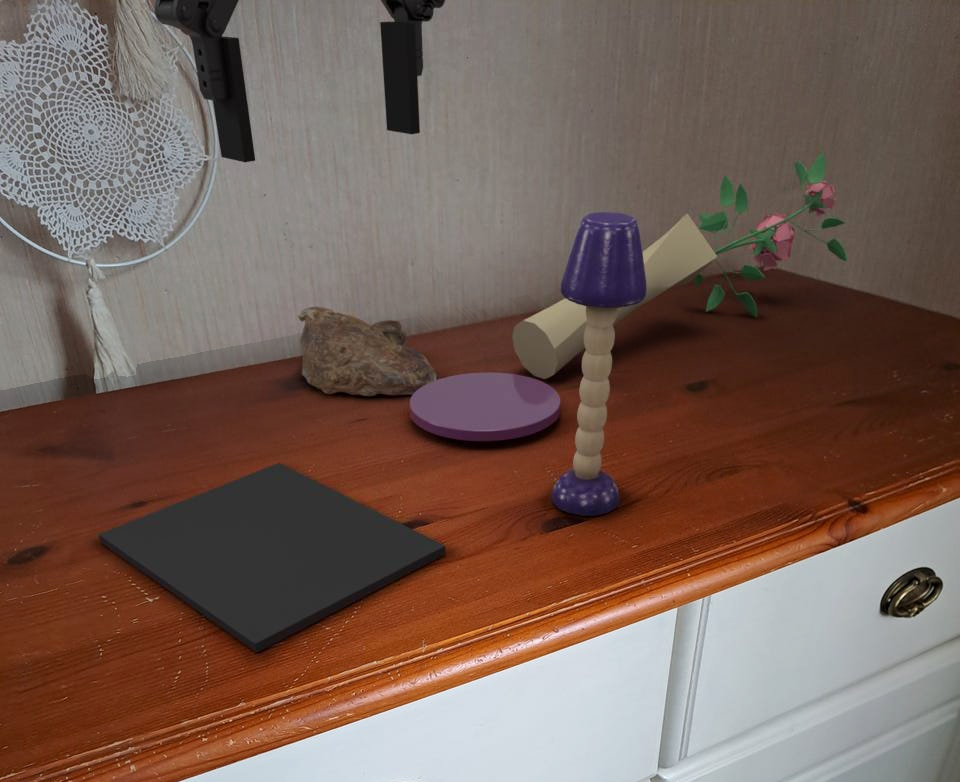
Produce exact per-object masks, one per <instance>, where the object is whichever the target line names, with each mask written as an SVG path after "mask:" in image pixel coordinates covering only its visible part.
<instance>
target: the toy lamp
mask: <svg viewBox="0 0 960 782" xmlns="http://www.w3.org/2000/svg"><path fill="white" fill-rule="evenodd" d="M641 239H642V238H641V232H640V226H639V223H638V221H637V219H636V218H634V217H633V216H632V215H629V214H626V213H622V212H616V211H615V212H613V211H599V212H598V211H597V212H591V213H588V214H585V216H584V217H583V218H582V219H581V221H580V223H579V226H578V228H577V231H576V234H575V238H574V241H573V244H572V247H571V249H570V253H569V255H568V260H567V262H566V265H565V269H564V272H563V275H562V279H561V282H560V293H561V295H562V296H563V297H564V299H565V298H566V299H568V300H569V301H571V302H574V303H576V304H579V305H583V306H586V319H587V321H588V325H587V326H586V329H585V332H584V345H585V348H584V349H585V351H584V353H583V355H582V358H581V372H582V374H583V377H582V379H581V381H580V384H579V390H578V391H579V392H578V393H579V394H578V395H579V399H580V403H579V405H578V408H577V412H576V419H577V425H578V428H577V429H576V433H575V437H574V444H575V448H576V451H575V453H574V455H573V460H572V466H573V469H570V470H568V471H566V472H565V473H563V474H562V475H560V477H559V478H558V479H557V480H556V482H555V483H554V486H553V488H552V490H551V495H550V500H551V502H552V504H554V506H556V508H558V510H560V511H563V512H565V513H568V514H570V515H574V516H575V515H576V516H582V517H586V516H588V517H591V516H593V517H595V516H600V515H604V514H607V513H610V512H611V511H613V510H615V509H616V508H617V507H618V506H619V504H620V493H619V489H618V486H617V484H616V482H615V480H614V479H613V478H612V477H611V476H610V474H608V473H607V472H605V471H603V470H601V468H602V462H603V461H602V453H601V451H602V449H603V447H604V443H605V431H604V426H605V425H606V422H607V418H608V407H607V404H606V403H607V401H608V400H609V398H610V397H609V396H610V392H611V386H610V385H611V384H610V379H609V376H610V374H611V372H612V367H613V356H612V352H611V351H612V350H613V347H614V345H615V340H616V339H615V338H616V332H615V328H614V326H613V323H614V322H615V320H616V317H617V310H618V308H621V307H626V306H630V305H635V304H638V303H639V302H641V301H642V300H643V299H644V297H645V296H646V276H645V269H644V261H643V246H642V240H641Z"/></svg>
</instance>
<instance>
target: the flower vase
mask: <svg viewBox="0 0 960 782" xmlns="http://www.w3.org/2000/svg"><path fill="white" fill-rule="evenodd" d="M793 163H794V167H795V172H796V175H797V178H798V180H799V183H800V187H801V189H802V193H803V195H802V196H803V197H804V200H803V204H802V208H801V209H799V210H798V211H796V212H795V213H793V214H791V215H789V216H787V215H786V214H779V213H777V212H776V211H773V215H772V216H771V217H770V215H769V214H768V213H766V214H765V215H764V216H763V219H762V220H761V221H760V222H757V223H755V224H756V229H749V232H750V234H748V235H746V236H743V237H741V238H739V239H737V240H735V241H732V242H731V240H732V231H733V228H734V225H735V222H736V220H737V219H738V217H739V216H740V215H741V214H742V213H744V212H746V211H747V210H748V209H749V201H748V195H747V191H746V189H745V187H744V186H743V185H742V183H741V182H740V183H739V185H738V188H737V190H736V193H735V191H734V187H733V183H732V182H731V181H730V179H729V178H728V176H727V175H726V174H723V178H722V181H721V184H720V191H719V192H720V194H719V195H720V197H719V198H720V206H722V207H725V209H724V210H725V211H720V212H716V213H715V214H713V215H712V214H710V213H697V216H698V218H699V220H700V222H701V225H700V226H699V227H698V226H697V224H696V223H695V222H694V221H693V219H692V218H691V216H690V215H689V213H686V214H684V215H683V216H682V218H680V220H678V221H677V222H676V224H674V225H673V226H672V228H671V229H669V230H668V231H667V232H666V233H665V234H664V235H662V236H661V237H660V238H658V239H657V240H656V241H655V242H653V243H652V244H651V245H649V247H647V248H646V249H644V250H642V252H643V261H644V269H645V276H646V296H645V297H644V299H643V300H642V301H641V302H639V303H638V304H635V305H630V306H626V307H621V308H618V310H617V317H616V320H615V322H614V323H613V327H614V326H615V325H616V324H618V323H620V321H622V320H623V319H624V318H626V317H627V316H628V315H629V314H631V312H633V311H635V310H637V308H639V307H641V306H642V305H644V304H646V303H648V302H649V301H651V300H653V299H654V298H656V297H658V296H659V295H661V294H663V293H665V292H666V291H668V290H671V289H674V288H678V287H681V286H686V285H688V284H690V283H691V282H692V281H693V283H694V285H695V287H696V288H698V287H699V286H700V285H701V284H703V283H704V276H703V274H701V273H702V272H703V271H704V270H705V269H706V268H707V267H708V266H710V264H712V263H713V262H715V263H716V264H717V265H718V266H719V268H720V269H721V270H722V272H723V274H724V277H723V278H722V280H721V282H720V284H719V285H718V284H714V285H713V288H712V290H711V293H710V295H709V297H708V298H707V304H706V309H705V312H706V313H707V312H709V311H712V310H713V309H715V308H717V307H719V305H720V304H721V302H722V301H724V299H725V296H726V293H725V291H724V290H723V288H722V283H723V282H724V280H725V279H726V280H727V281H728V283H729V285H730V287H731V289H732V290H733V292H734V293H735V294H736V296H737V300H738V301H739V302H740V303H741V304H742V305H743V306H744V308H745V309H746V310H747V311H748V312H749V313H750V314H752V315H753V317H755V318H758V310H757V303H756V302H755V300H754V298H753V297H752V295H751V294H750V293H748V292H747V291H746V292H741V293H740V292H739V293H737V292H736V290H735V288H734V287H733V285H732V283H731V282H730V279H729V278H728V277H729V276H728V275H727V273H726V271H725V270H724V269H723V267H722V266H721V265H720V263H719V262H718V261H717V260H716V259H717V258H718V255H720V254H722V253H723V252H727V251H729V250H733V249H736V248H741V247H743V246H748V245H749V247H748V248H749V249H750V250H753V253H752V254H751V255H750V258H751V259H752V260H753V261H755V262H756V264H757V267H756V266H754V265H752V264H744V265H743V266H742V268H741V270H740V272H738V271H731V270H728V272H730V273H733V274H740V275H741V277H743V279H744V280H746V281H757V282H758V281H760V280H763V279H764V278H765V274H763V273H762V272H761V271H760V270H759V268H760V267H762V266H763V271H765V272H766V271H769V270H772V269H774V270H778V268H779V265H778V262H781V261H784V262H786V261H787V259H788V258H790V257H791V254H792V249H793V244H794V240H795V237H796V235H795V234H794V232H795V228H794V226H796V227H797V228H799V229H801V230H802V231H803V232H805V233H806V234H808V235H810V236H811V237H813V238H814V239H817V240H818V241H820V242H822V243H825V244H826V246H827V249H828V251H829V252H831V253H832V254H833V255H835V256H836V257H837V258H838V259H839V260H842V261H844V262H849V260H848V257H847V252H846V249H845V247H844V246H843V244H842V243H841V242H840V241H839V240H838V239H836V238H835V237H833V238H831V239H830V240H829V241H827V242H826V241H824V240H822V239H820V238H819V237H817V236H815V235H814V234H812V233H810V232H815V231H819V230H820V229H821V228H822V230H824V229H829V228H835V227H838V226H841V225H844V224H846V221H844V220H842V219H840V218H838V217H827V218H824V219H823V221H822V223H821V224H820V227H818V228H815V229H804V228H803V227H801V226H799V225H798V224H796V223H794V222H793V221H791V219H793V218H795V217H796V216H798V215H799V214H801V213H803V212H804V211H805V210H807V209H809V210H808V214H810V213H811V214H814V213H816V214H815V216H816V217H820V216H822V215H826V209H831V210H833V209H834V207H835V204H836V201H837V200H836V198H834V197H832V196H833V195H835V194H836V191H835V189H834V186H833V185H832V183H830V184H829V185H827V184H828V182H827V181H826V180H824V177H825V174H826V168H827V162H826V156H825V152H822V154H820V155H819V156H818V157H817V158H816V160H814V161H813V163H812V165H811V166H810V168H809V171H808V170H807V168H806V166H805V165H804V164H803V163H801V162H799V161H796V160H794V161H793ZM823 180H824V181H823ZM805 181H807V182H808V183H810V185H806V186H805V188H806V189H807V190H806V191H805V189H804V183H805ZM734 203H735V204H734ZM732 204H734V210H735V211H736V212H737V213H738V215H737V216H736V217H735V218H734V221H733V223H732V227H731V226H730V222H729V218H728V214H727V213H728V212H727V209H728V208H729V207H730V206H731V205H732ZM791 224H792V225H794V226H792V225H791ZM726 229H729V231H728V230H726ZM701 230H702V231H706V232H710V233H711V234H716V233H717V232H719V231H720V232H719V233H718V236H717V239H716V243H715V244H716V245H715V250H713V248H712V247H711V245H710V243H709V242H708V241H707V240H706V238H705V236H704V235H703V234H702V232H701ZM723 231H724V232H725V233H727V234H728V235H729V242H728V244H726V245H724V246H721V247H720V248H718V244H719V238H720V236H721V233H722V232H723ZM750 238H751V239H750ZM747 239H749V240H747ZM587 325H588V321H587V319H586V306H583V305H579V304H576V303H574V302H571V301H569V300H568V299H566V298H565V297H564V298H563V299H561V300H559V301H558V302H555V303H554V304H552V305H550V306H548V307H547V308H545V309H542V310H541V311H539V312H537V313H535V314H533V315H531V316H529V317H527V318H525V319H523V320H521V321H520V322H518V323H517V324H515V325H514V328H513V332H512V337H511V339H512V344H513V348H514V353H515V354H516V356H517V358H518V359H519V361H520V363H521V364H522V366H523V368H525V369H526V370H527V371H528V372H529V373H530V374H532V376H534V377H536V378H539V379H543V380H547V379H548V378H550V377H553V376H554V375H556V374H557V373H558V372H559V371H560V370H561V369H563V367H565V366H566V365H567V364H568V363H569V362H570V361H571V360H573V359H574V358H575V357H576V356H577V355H578V354H580V353H581V352H582V351H583V350H585V349H586V348H585V345H584V332H585V329H586V326H587Z"/></svg>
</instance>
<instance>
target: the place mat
mask: <svg viewBox="0 0 960 782" xmlns="http://www.w3.org/2000/svg"><path fill="white" fill-rule="evenodd" d="M98 538H99V542H100V543H101V544H103V545H104V547H107V548H108V549H109V550H111V551H112V553H115V554H116V555H118V556H119V557H120V558H122V559H123V560H125V561H126V562H127V563H129V564H130V565H132V566H134V568H136V569H137V570H139V571H140V572H142V573H143V574H145V575H146V576H147V577H149V579H152V580H153V581H154V582H156V583H157V584H158V585H160V586H161V587H162V588H164V589H166V590H167V591H168V592H170V593H171V594H173V595H174V596H176V597H177V598H178V599H180V600H181V601H183V602H184V603H186V604H187V605H188V606H190V607H191V608H193V609H194V610H195V611H197V612H198V613H200V614H201V615H203V616H204V617H205V618H206V619H208V620H210V621H211V622H212V623H214V624H215V625H216V626H218V627H220V628H221V629H222V630H224V631H225V632H227V633H228V634H229V635H231V636H232V637H234V638H235V639H237V640H238V641H239V642H241V643H242V644H243V645H245V646H247V647H248V648H249V649H250V650H252V651H253V652H255V653H260V652H262V651H264V650H266V649H267V648H269V647H271V646H273V645H275V644H277V643H278V642H281V641H283V640H285V639H287V638H289V637H290V636H293V635H294V634H297V633H298V632H300V631H301V630H304V629H305V628H307V627H310V626H311V625H313V624H316V623H317V622H319V621H321V620H323V619H325V618H327V617H328V616H330V615H332V614H334V613H337V612H338V611H340V610H342V609H344V608H345V607H346V608H347V606H350V605H351V604H354V603H355V602H357V601H360V600H361V599H363V598H365V597H367V596H370V594H373V593H374V592H376V591H379V590H380V589H382V588H384V587H387V586H388V585H390V584H392V583H394V582H396V581H398V580H399V579H401V578H403V577H405V576H407V575H409V574H411V573H413V572H415V571H416V570H418V569H421V568H422V567H424V566H426V565H429V564H430V563H432V562H433V561H434V562H435V561H436V560H438V559H440V558H442V557H443V556H445V555H446V553H447V552H446V545H444V544H443V543H440V542H438V541H437V540H435V539H434V538H433V539H432V538H431V537H428V536H427V535H425V534H423V533H420V532H418V531H416V530H414V529H412V528H411V527H409V526H406V525H405V524H403V523H400V522H398V521H397V520H395V519H393V518H390V517H388V516H387V515H385V514H383V513H381V512H378V511H376V510H374V509H373V508H371V507H369V506H367V505H365V504H362V503H360V502H359V501H357V500H354V499H353V498H351V497H348V496H346V495H345V494H343V493H340V492H338V491H337V490H334V489H332V488H331V487H329V486H326V484H325V485H324V484H322V483H321V482H319V481H317V480H315V479H312V478H310V477H309V476H306V475H304V474H302V473H300V472H298V471H297V470H295V469H292V468H290V467H289V466H286V465H285V464H282V463H281V462H277V463H275V464H272V465H270V466H267V467H264V468H262V469H259V470H257V471H255V472H252V473H249V474H246V475H245V476H242V477H239V478H236V479H235V480H232V481H228V482H227V483H224V484H221V485H219V486H217V487H214V488H211V489H208V490H205V491H204V492H201V493H198V494H196V495H193V496H191V497H189V498H186V499H184V500H181V501H178V502H176V503H173V504H171V505H169V506H166V507H163V508H161V509H158V510H155V511H153V512H151V513H148V514H146V515H143V516H140V517H138V518H135V519H133V520H130V521H128V522H125V523H122V524H120V525H118V526H115V527H113V528H110V529H108V530H105V531H102V532H100V533H98Z"/></svg>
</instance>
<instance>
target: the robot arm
mask: <svg viewBox="0 0 960 782" xmlns="http://www.w3.org/2000/svg"><path fill="white" fill-rule="evenodd" d="M239 1H240V0H155V3H154V15H155V18H156V19H157V21H158V22H159V23H160V24H162V25H166V26H170V27H173V28H176V29H178V30H180V31H181V33H182V34H184V35H185V36H188V37H189V38H190V41H191V44H192V45H191V46H192V51H193V57H194V63H195V68H196V76H197V82H198V88H199V91H200V94H201V96H202V98H203V99H204V100H208V101H212V106H213V112H214V117H215V124H216V131H217V137H218V143H219V151H220V157H221V158H224V159H228V160H233V161H238V162H242V163H250V162H255V161H256V154H255V148H254V140H253V134H252V126H251V119H250V118H251V117H250V110H249V104H248V96H247V88H246V81H245V73H244V67H243V60H242V52H241V45H240V38H239V37H233V36H223V35H224V34H225V31H226V29H227V27H228V25H229V23H230V21H231V18H232V16H233V14H234V12H235V10H236V7H237V5H238V3H239ZM380 2H381V3H382V5H383V6H384V8H385V9H386V11H387V13H388V15H389V16H390V17H391V18H392V19H393V21H389V20H388V21H379V22H380V23H379V26H380V27H379V28H380V41H381V43H380V44H381V58H382V72H383V73H382V74H383V89H384V107H385V121H386V122H385V123H386V131H389V132H396V133H400V134H401V133H402V134H407V135H416V134H420V133H421V129H420V128H421V126H420V103H419V83H418V81H419V80H418V77H422V76H423V71H424V52H423V47H424V46H423V28H422V27H423V25H422V24H423V22H424V23H425V22H430V21H431V20H432V19H433V16H434V9H441V8H442V7H444V5H445V2H446V0H380Z"/></svg>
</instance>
